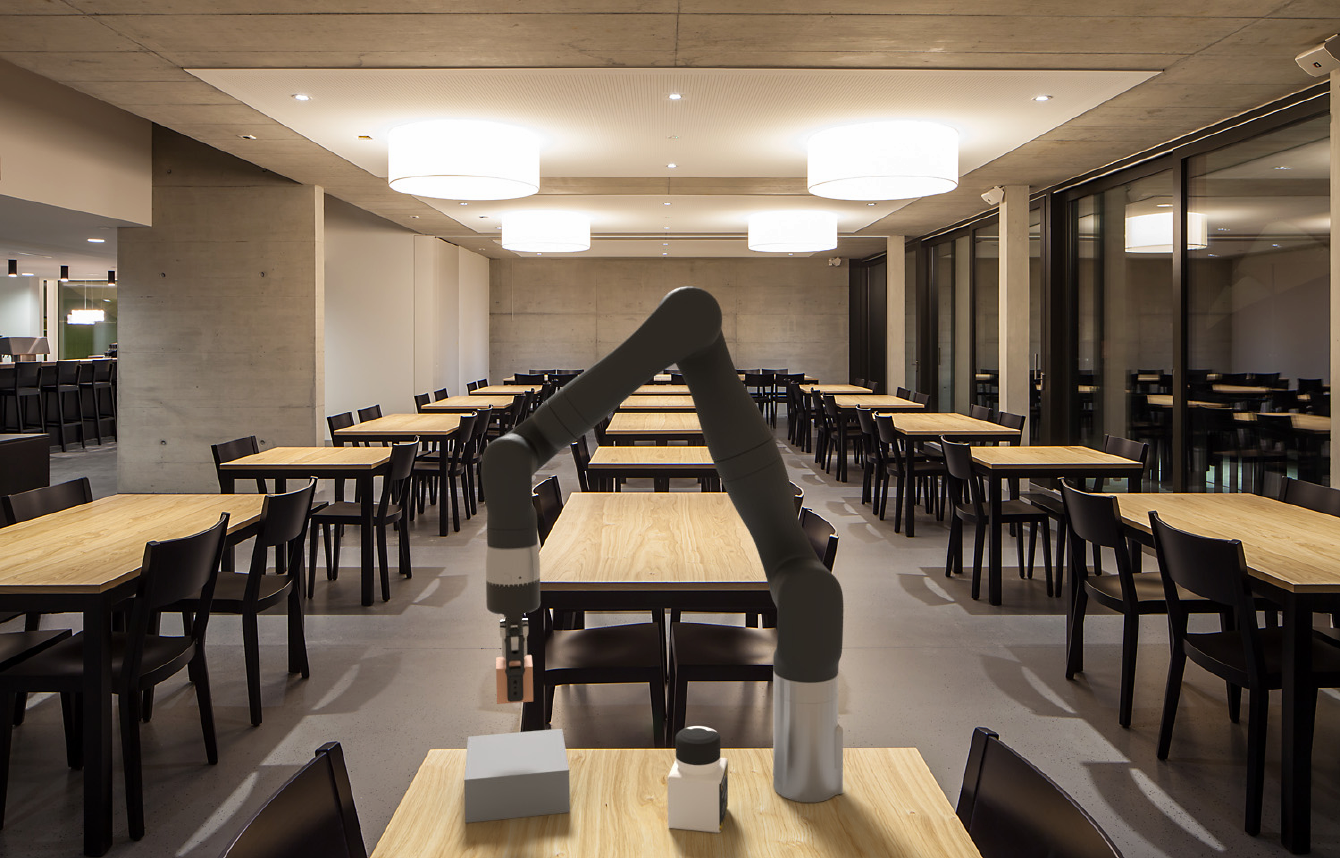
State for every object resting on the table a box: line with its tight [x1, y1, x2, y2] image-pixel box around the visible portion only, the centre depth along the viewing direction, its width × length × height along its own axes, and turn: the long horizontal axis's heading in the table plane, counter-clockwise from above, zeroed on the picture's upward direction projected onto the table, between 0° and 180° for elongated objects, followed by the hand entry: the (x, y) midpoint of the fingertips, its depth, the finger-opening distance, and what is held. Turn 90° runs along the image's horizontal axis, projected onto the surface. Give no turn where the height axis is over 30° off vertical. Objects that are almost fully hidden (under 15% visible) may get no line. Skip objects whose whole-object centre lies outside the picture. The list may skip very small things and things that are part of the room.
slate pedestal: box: [463, 728, 571, 824], centre depth 125 cm, size 14×14×6 cm
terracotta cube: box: [495, 654, 534, 705], centre depth 124 cm, size 5×5×5 cm
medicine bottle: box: [667, 725, 729, 834], centre depth 118 cm, size 7×7×12 cm
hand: (515, 692), depth 125 cm, fingers closed on terracotta cube, 5 cm apart
